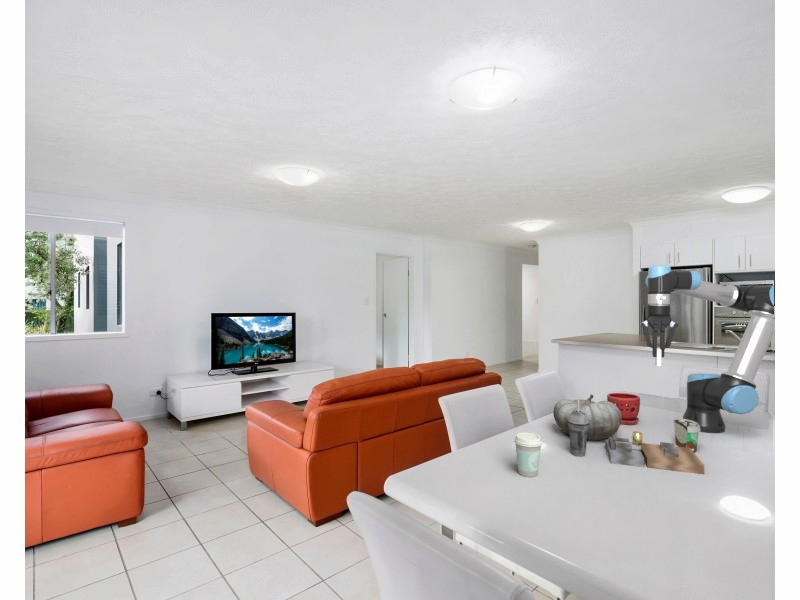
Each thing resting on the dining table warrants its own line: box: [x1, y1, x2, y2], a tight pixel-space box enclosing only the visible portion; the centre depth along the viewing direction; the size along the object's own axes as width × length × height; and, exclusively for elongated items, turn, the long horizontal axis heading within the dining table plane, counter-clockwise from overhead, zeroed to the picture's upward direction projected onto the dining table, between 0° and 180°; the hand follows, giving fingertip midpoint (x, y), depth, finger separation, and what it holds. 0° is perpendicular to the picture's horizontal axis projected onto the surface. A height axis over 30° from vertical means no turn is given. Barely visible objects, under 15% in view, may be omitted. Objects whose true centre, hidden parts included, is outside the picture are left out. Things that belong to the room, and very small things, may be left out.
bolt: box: [615, 430, 643, 450], centre depth 153 cm, size 8×3×6 cm, turn 70°
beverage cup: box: [568, 399, 589, 458], centre depth 156 cm, size 7×7×20 cm
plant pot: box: [606, 392, 641, 425], centre depth 195 cm, size 13×13×12 cm
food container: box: [673, 417, 702, 454], centre depth 161 cm, size 12×6×10 cm, turn 168°
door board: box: [605, 436, 705, 475], centre depth 151 cm, size 27×16×5 cm, turn 70°
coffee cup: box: [513, 432, 543, 478], centre depth 140 cm, size 8×8×12 cm
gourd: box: [552, 394, 622, 442], centre depth 176 cm, size 25×25×17 cm
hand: (658, 365), depth 170 cm, fingers closed
